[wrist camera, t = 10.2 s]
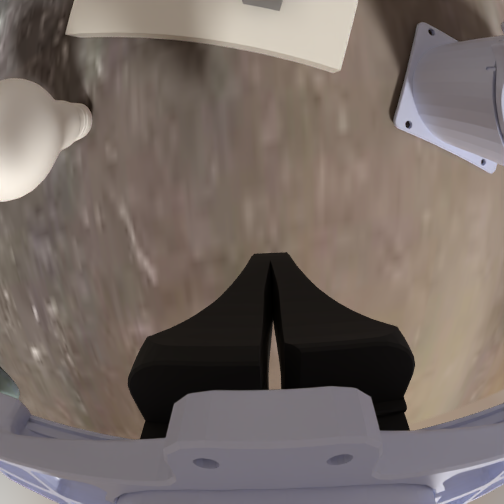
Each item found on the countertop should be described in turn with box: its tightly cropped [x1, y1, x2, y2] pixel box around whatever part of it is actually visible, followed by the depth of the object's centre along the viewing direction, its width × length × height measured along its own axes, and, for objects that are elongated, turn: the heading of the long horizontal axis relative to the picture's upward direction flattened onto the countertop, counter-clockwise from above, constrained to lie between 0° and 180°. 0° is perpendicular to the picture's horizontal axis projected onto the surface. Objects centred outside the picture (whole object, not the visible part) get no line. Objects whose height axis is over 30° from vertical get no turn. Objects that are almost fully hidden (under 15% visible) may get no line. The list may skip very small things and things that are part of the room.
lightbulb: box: [0, 78, 92, 202], centre depth 13 cm, size 6×6×11 cm
